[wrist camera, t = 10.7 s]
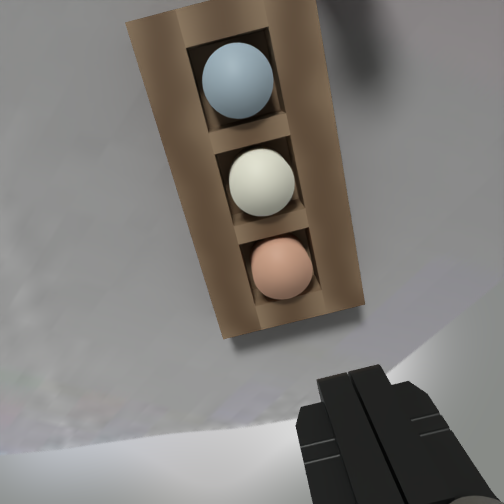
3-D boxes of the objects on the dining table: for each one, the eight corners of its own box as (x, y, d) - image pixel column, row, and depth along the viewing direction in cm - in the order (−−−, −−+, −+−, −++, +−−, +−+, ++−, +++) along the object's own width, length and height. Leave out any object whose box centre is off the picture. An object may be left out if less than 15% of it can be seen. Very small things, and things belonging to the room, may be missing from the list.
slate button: (260, 38, 31) (264, 34, 28) (274, 106, 33) (279, 109, 30) (195, 54, 31) (193, 52, 28) (213, 121, 33) (213, 126, 30)
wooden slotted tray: (301, -16, 31) (311, -27, 28) (353, 285, 40) (365, 304, 37) (134, 28, 31) (125, 22, 28) (222, 317, 40) (223, 339, 37)
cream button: (281, 139, 34) (287, 144, 31) (293, 197, 35) (300, 207, 32) (221, 154, 34) (222, 161, 31) (237, 211, 35) (238, 223, 33)
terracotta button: (299, 225, 36) (306, 237, 33) (310, 275, 38) (317, 291, 35) (244, 239, 36) (246, 252, 33) (257, 288, 38) (260, 305, 35)
